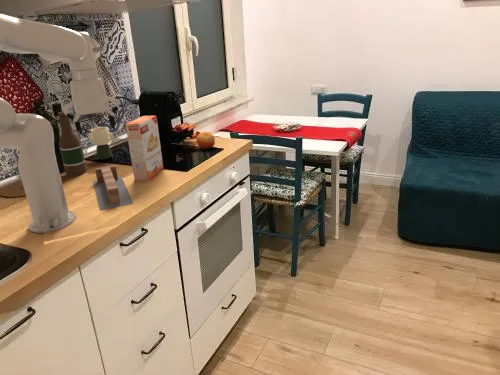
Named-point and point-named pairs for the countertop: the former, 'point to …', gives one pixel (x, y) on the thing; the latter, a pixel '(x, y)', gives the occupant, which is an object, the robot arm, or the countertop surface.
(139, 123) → the cracker box
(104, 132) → the cream and green trophy
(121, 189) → the mat
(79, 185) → the countertop surface
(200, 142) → the fruit
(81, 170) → the beer bottle
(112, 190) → the bar
